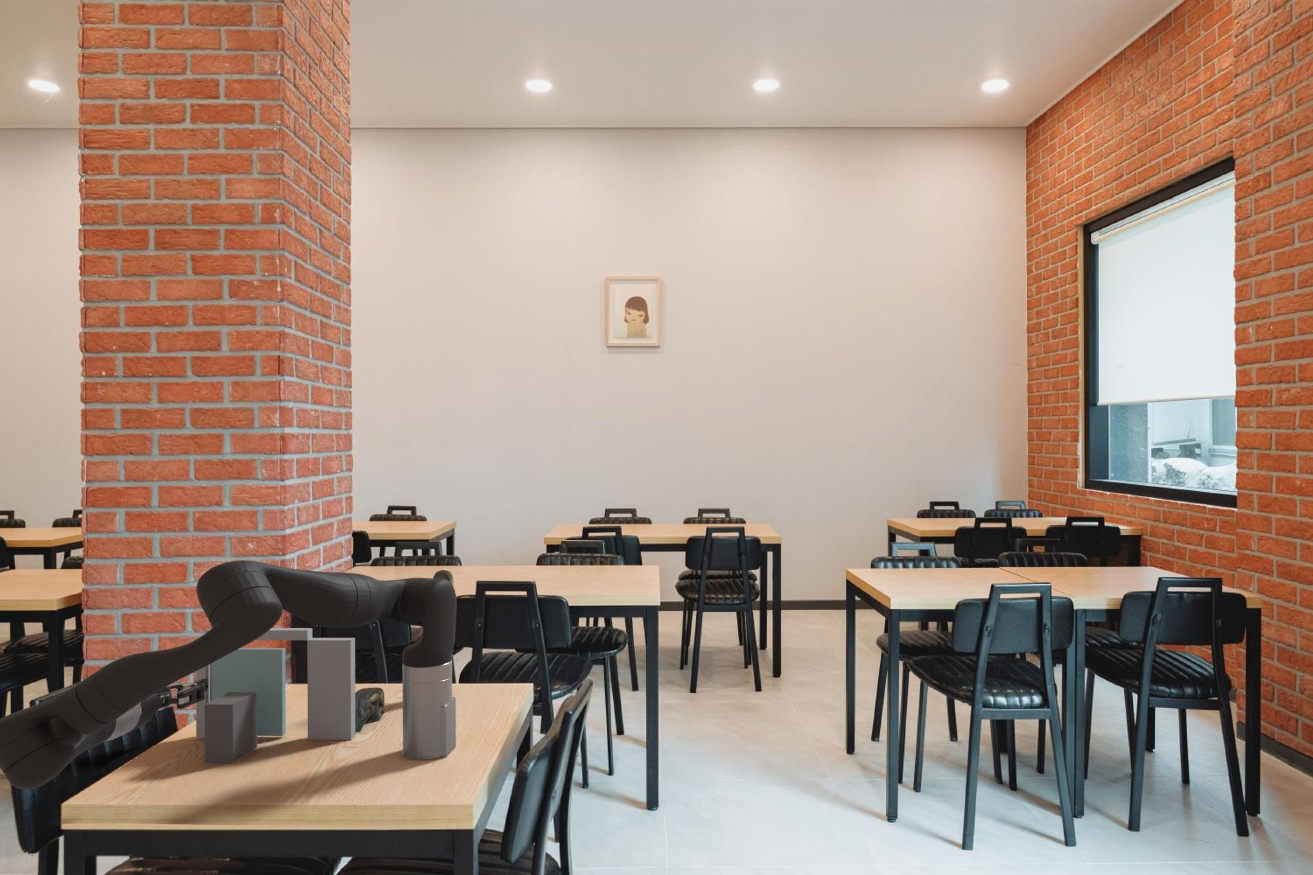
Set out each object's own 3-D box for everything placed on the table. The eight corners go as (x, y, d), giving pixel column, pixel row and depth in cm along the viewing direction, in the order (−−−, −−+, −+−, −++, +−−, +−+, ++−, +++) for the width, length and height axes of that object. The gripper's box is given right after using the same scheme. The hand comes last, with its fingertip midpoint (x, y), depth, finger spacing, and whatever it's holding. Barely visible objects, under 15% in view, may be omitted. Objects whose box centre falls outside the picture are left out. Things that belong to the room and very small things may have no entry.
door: (288, 731, 166) (288, 646, 167) (282, 735, 164) (282, 649, 164) (215, 731, 167) (215, 646, 168) (208, 735, 165) (208, 649, 165)
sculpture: (370, 732, 167) (370, 698, 167) (338, 733, 166) (338, 700, 166) (386, 713, 180) (386, 682, 180) (357, 714, 179) (357, 683, 180)
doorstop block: (256, 748, 159) (256, 691, 159) (232, 763, 151) (232, 704, 151) (230, 747, 159) (229, 691, 159) (204, 763, 151) (204, 704, 151)
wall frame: (355, 736, 164) (354, 628, 165) (350, 739, 162) (350, 630, 163) (202, 734, 167) (202, 628, 167) (196, 738, 165) (196, 630, 165)
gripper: (71, 735, 126) (143, 704, 142) (159, 736, 125) (221, 705, 141) (73, 686, 126) (144, 661, 142) (160, 687, 125) (222, 662, 142)
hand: (182, 683), depth 142 cm, fingers open, 8 cm apart
